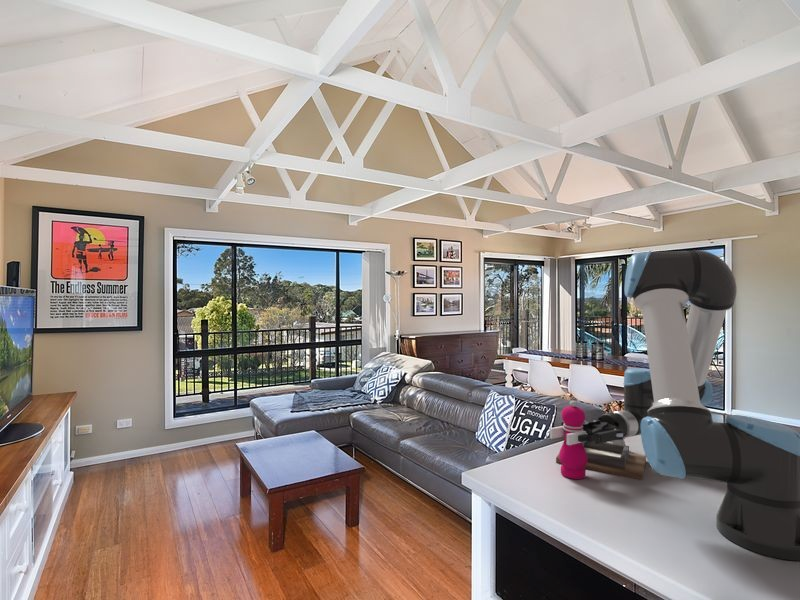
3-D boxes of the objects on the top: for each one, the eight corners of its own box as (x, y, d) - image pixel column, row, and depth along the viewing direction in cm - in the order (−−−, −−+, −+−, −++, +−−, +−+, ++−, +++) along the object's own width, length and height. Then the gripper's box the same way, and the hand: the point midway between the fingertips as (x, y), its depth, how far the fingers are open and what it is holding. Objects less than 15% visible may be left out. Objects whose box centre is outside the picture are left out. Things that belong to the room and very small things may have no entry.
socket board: (642, 479, 112) (642, 464, 112) (556, 462, 124) (556, 448, 124) (646, 461, 126) (645, 447, 126) (567, 447, 138) (567, 434, 138)
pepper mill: (570, 481, 111) (570, 404, 111) (553, 470, 118) (553, 398, 118) (593, 478, 113) (593, 402, 113) (575, 468, 120) (575, 397, 120)
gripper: (646, 447, 115) (587, 462, 105) (590, 430, 131) (534, 440, 121) (646, 420, 115) (587, 431, 105) (590, 405, 131) (534, 414, 121)
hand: (559, 436), depth 113 cm, fingers closed on pepper mill, 5 cm apart
